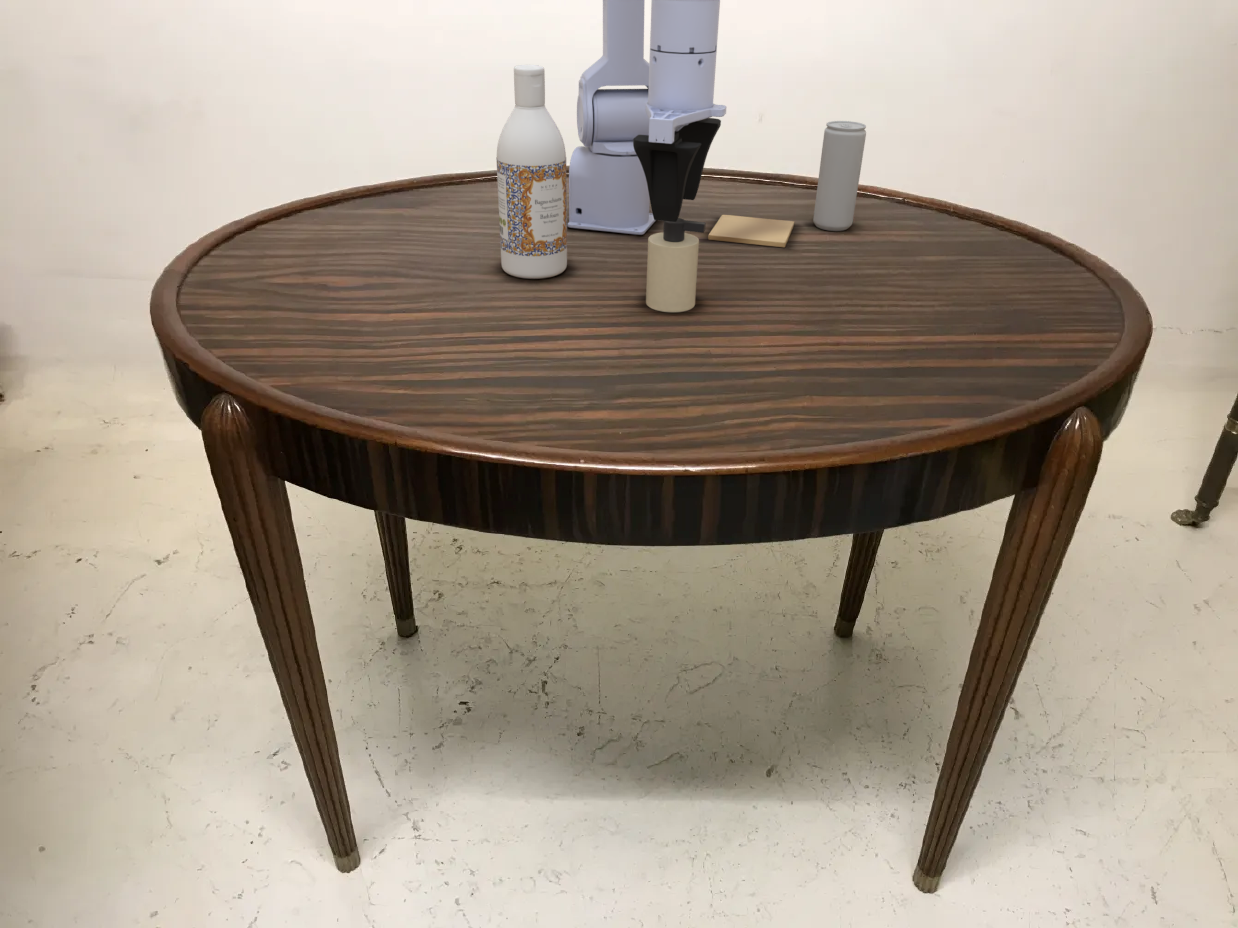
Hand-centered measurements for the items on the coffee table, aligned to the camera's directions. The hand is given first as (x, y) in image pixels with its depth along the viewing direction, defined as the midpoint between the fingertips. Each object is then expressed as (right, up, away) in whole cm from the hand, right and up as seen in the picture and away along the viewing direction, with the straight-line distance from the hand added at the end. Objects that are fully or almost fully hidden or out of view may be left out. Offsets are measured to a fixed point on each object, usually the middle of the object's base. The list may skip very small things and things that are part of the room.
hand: (675, 209), depth 86 cm
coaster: (+11, +4, +25) cm, 28 cm away
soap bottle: (0, -8, +5) cm, 9 cm away
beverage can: (+21, +5, +28) cm, 36 cm away
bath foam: (-14, -3, +13) cm, 19 cm away
